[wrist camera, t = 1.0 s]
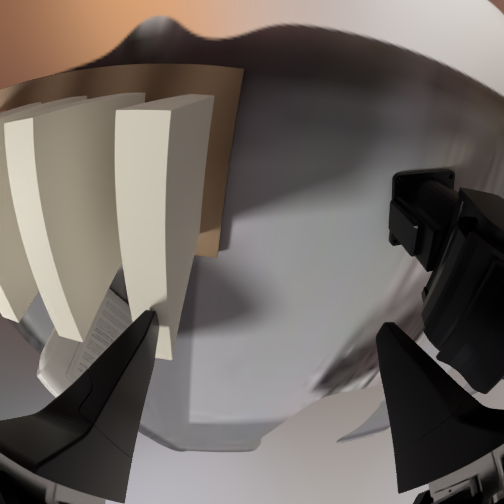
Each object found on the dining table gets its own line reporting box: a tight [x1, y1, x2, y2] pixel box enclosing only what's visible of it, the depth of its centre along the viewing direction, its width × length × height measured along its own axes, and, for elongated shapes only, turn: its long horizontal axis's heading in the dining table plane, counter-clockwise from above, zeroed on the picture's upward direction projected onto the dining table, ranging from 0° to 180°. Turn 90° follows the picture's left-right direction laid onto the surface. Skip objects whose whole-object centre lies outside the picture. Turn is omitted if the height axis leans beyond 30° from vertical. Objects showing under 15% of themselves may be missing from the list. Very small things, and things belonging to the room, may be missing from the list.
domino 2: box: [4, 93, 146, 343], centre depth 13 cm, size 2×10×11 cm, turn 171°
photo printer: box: [37, 289, 133, 398], centre depth 21 cm, size 10×4×12 cm, turn 36°
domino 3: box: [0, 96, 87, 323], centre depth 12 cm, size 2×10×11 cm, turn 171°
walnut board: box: [0, 64, 244, 258], centre depth 17 cm, size 24×14×1 cm, turn 81°
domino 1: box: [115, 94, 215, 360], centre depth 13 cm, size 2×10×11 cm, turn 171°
